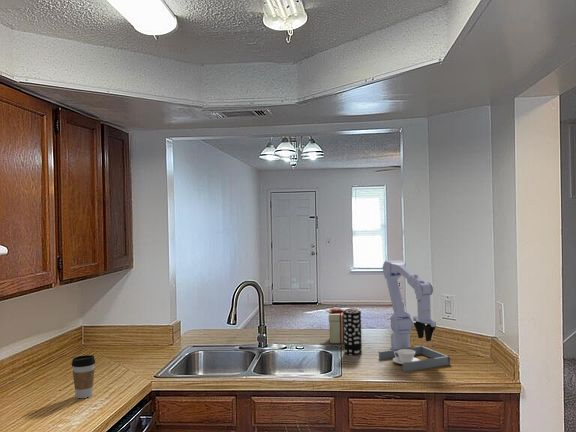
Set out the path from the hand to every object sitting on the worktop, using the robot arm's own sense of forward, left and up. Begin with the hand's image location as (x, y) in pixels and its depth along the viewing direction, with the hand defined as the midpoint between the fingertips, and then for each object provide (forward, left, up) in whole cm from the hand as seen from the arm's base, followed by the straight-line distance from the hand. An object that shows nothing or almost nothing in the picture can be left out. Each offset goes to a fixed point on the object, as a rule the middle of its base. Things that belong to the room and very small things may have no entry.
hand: (424, 339), depth 225 cm
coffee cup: (-15, -144, -10) cm, 145 cm away
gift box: (-49, -17, -10) cm, 53 cm away
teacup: (0, -10, -10) cm, 14 cm away
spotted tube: (-24, -24, -10) cm, 35 cm away
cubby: (0, -7, -9) cm, 12 cm away
